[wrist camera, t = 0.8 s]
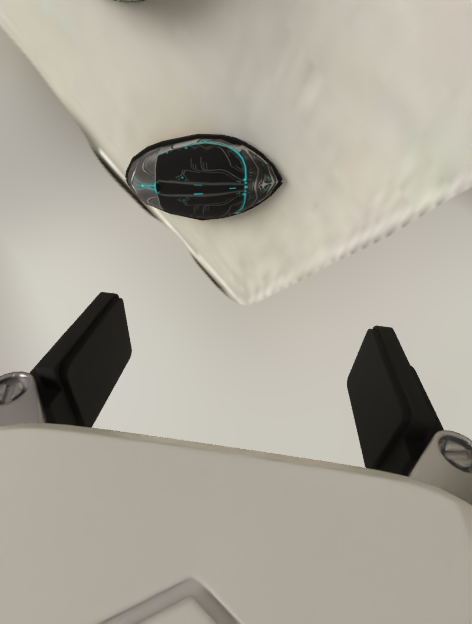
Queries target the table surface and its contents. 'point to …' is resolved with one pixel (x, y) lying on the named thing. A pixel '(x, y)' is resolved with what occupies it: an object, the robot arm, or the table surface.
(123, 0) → the tin
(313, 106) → the table surface
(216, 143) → the computer mouse
